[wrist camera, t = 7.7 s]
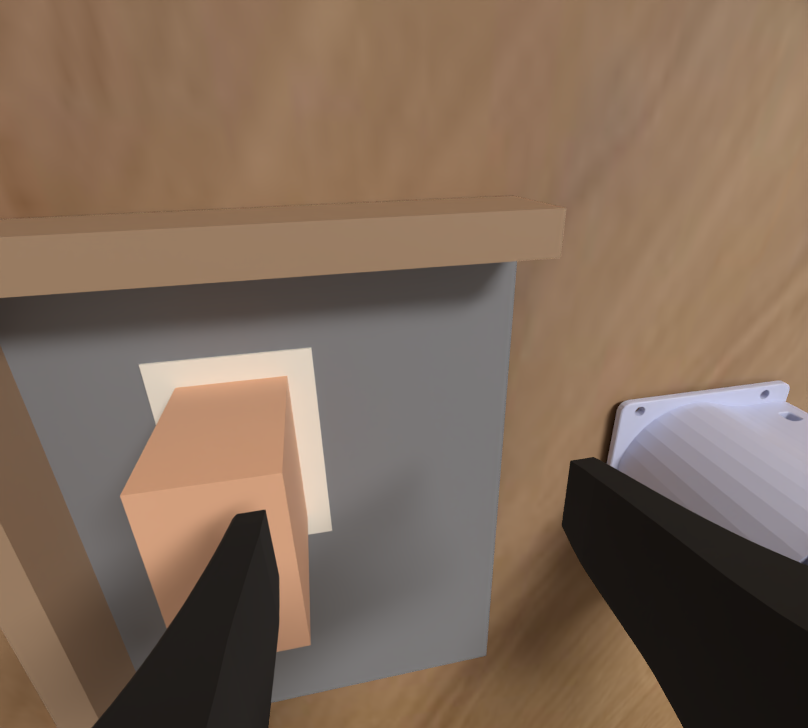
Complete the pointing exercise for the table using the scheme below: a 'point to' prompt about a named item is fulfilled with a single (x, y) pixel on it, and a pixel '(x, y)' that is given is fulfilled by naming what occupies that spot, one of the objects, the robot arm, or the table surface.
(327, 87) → the table surface
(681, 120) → the table surface
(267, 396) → the block
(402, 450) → the arena
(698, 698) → the robot arm
